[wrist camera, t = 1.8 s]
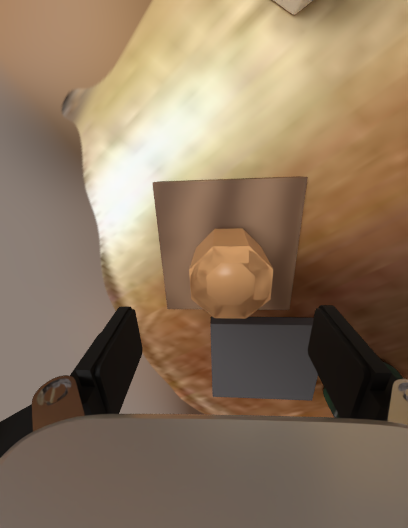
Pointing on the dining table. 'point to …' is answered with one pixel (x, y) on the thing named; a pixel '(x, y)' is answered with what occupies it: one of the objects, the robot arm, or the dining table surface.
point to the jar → (293, 5)
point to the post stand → (229, 227)
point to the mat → (262, 358)
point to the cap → (230, 274)
